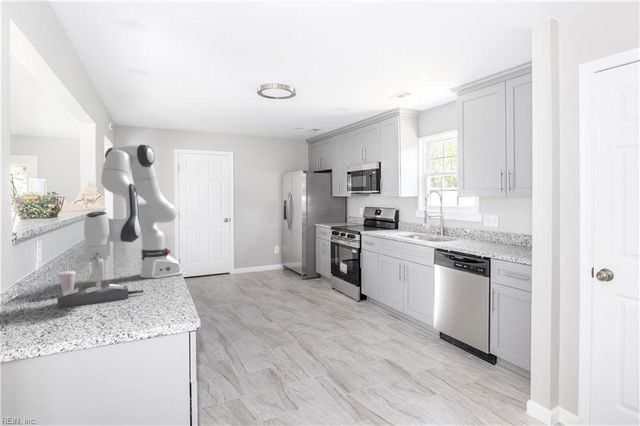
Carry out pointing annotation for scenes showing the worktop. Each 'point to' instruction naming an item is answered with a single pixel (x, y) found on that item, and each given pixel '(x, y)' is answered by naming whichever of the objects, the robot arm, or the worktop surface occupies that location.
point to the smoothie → (67, 279)
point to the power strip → (94, 296)
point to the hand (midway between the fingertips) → (98, 285)
